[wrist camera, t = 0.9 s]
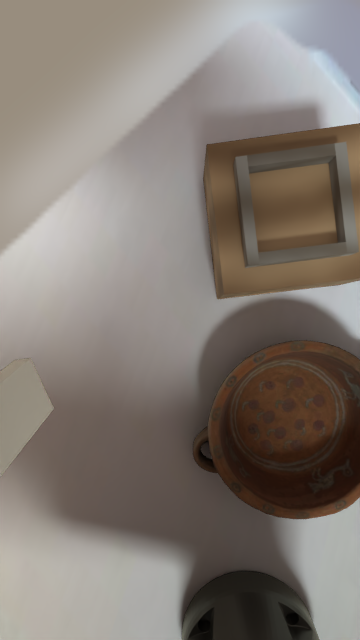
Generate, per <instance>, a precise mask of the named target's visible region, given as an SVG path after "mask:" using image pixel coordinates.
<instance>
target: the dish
mask: <svg viewBox="0 0 360 640" xmlns="http://www.w3.org/2000/svg"><path fill="white" fill-rule="evenodd" d="M208 441H209V449H210V454H211V456H212V459H209V458H207V457H206V456H205V455H203V453H202V452H201V446H202V445H203V444H204V443H205V442H208ZM193 456H194V459H195V461H196V463H197V464H198V465H199V466H200V467H201V468H203V469H204V470H207V471H209V472H213V473H218V474H219V475H220V477H221V478H222V480H223V481H224V483H225V484H226V485H227V486H228V487H229V488H230V490H231V491H232V492H233V493H234V494H235V495H236V496H237V497H238V498H239V499H241V500H242V501H244V502H245V503H247V504H248V505H250V506H252V507H253V508H255V509H258V510H260V511H262V512H264V513H266V514H269V515H273V516H276V517H282V518H290V519H309V518H315V517H316V518H317V517H321V516H326V515H330V514H334V513H337V512H339V511H341V510H343V509H345V508H347V507H349V506H350V505H352V504H353V503H354V502H355V501H356V500H357V499H358V498H360V359H358V358H357V357H356V356H354V355H352V354H351V353H349V352H347V351H345V350H343V349H341V348H339V347H335V346H332V345H329V344H326V343H322V342H315V341H307V340H303V341H289V342H284V343H279V344H276V345H273V346H270V347H267V348H264V349H262V350H260V351H258V352H256V353H254V354H253V355H251V356H249V357H248V358H246V359H245V360H244V361H243V362H241V363H240V364H239V365H238V366H237V367H236V368H235V369H234V370H233V371H232V372H231V373H230V374H229V375H228V377H227V378H226V379H225V380H224V382H223V384H222V385H221V387H220V389H219V391H218V393H217V395H216V397H215V400H214V402H213V405H212V408H211V412H210V415H209V421H208V427H206V428H205V429H204V430H202V431H201V432H200V433H199V434H198V436H197V437H196V438H195V440H194V444H193Z"/></svg>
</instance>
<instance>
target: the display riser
mask: <svg viewBox="0 0 360 640" xmlns="http://www.w3.org/2000/svg"><path fill="white" fill-rule="evenodd" d="M203 181H204V190H205V198H206V207H207V216H208V224H209V233H210V242H211V250H212V259H213V267H214V276H215V285H216V293H217V299H224V298H232V297H241V296H249V295H258V294H266V293H275V292H283V291H292V290H300V289H309V288H317V287H326V286H334V285H341V284H346V283H350V282H355V281H359V280H360V123H359V124H352V125H344V126H337V127H330V128H323V129H316V130H308V131H301V132H294V133H287V134H279V135H272V136H265V137H258V138H251V139H243V140H236V141H229V142H222V143H215V144H207V147H206V157H205V167H204V177H203Z"/></svg>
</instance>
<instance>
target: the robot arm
mask: <svg viewBox="0 0 360 640" xmlns="http://www.w3.org/2000/svg"><path fill="white" fill-rule="evenodd" d="M53 409H54V408H53V406H52V403H51V401H50V399H49V397H48V395H47V392H46V390H45V388H44V386H43V384H42V382H41V379H40V377H39V375H38V373H37V371H36V368H35V366H34V364H33V362H32V360H31V358H27V359H19V360H14V361H13V362H12V363H11V364H9V365H8V366H7V367H5V368H4V369H3V370H2V371H0V477H1V476H2V474H3V473H4V472H5V471H6V469H7V468H8V467H9V465H10V464H11V463H12V462H13V460H14V459H15V458H16V456H17V455H18V454H19V453H20V451H21V450H22V449H23V448H24V446H25V445H26V444H27V442H28V441H29V440H30V439H31V437H32V436H33V435H34V433H35V432H36V431H37V430H38V428H39V427H40V426H41V425H42V423H43V422H44V421H45V419H46V418H47V417H48V416H49V414H50V413H51V412H52V410H53ZM182 640H319V637H318V634H317V632H316V629H315V627H314V624H313V622H312V619H311V617H310V615H309V612H308V610H307V608H306V606H305V605H304V603H303V602H302V600H301V599H300V598H299V596H298V595H297V594H296V593H295V592H294V591H293V590H292V589H291V588H289V587H288V586H287V585H286V584H284V583H283V582H281V581H279V580H277V579H275V578H273V577H271V576H268V575H265V574H261V573H257V572H235V573H230V574H226V575H223V576H221V577H219V578H216V579H215V580H213V581H211V582H210V583H208V584H207V585H205V586H204V587H203V588H202V589H201V590H200V591H199V592H198V593H197V594H196V596H195V597H194V598H193V600H192V601H191V603H190V605H189V607H188V609H187V611H186V614H185V617H184V621H183V628H182Z"/></svg>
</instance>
